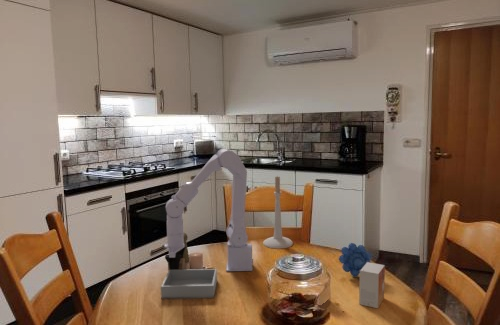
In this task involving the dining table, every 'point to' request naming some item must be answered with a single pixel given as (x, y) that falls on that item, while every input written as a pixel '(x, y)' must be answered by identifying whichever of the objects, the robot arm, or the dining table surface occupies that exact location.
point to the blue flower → (354, 258)
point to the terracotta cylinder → (196, 260)
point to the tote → (189, 284)
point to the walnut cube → (180, 264)
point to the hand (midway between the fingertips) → (176, 269)
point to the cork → (186, 249)
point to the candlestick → (277, 224)
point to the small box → (371, 284)
